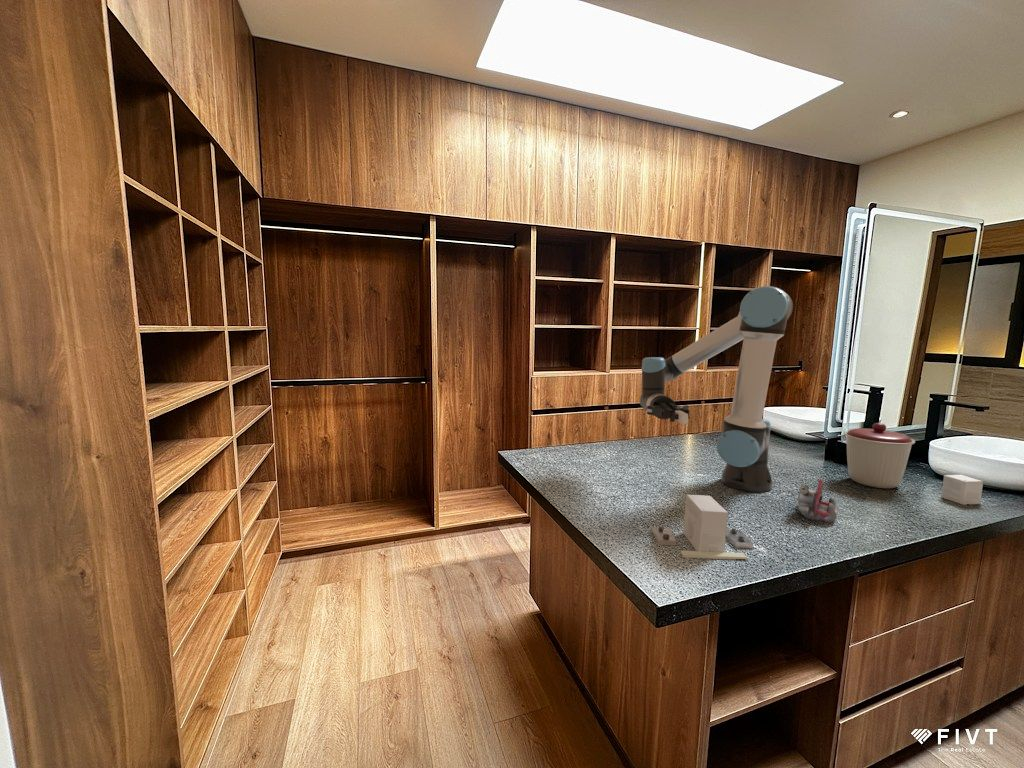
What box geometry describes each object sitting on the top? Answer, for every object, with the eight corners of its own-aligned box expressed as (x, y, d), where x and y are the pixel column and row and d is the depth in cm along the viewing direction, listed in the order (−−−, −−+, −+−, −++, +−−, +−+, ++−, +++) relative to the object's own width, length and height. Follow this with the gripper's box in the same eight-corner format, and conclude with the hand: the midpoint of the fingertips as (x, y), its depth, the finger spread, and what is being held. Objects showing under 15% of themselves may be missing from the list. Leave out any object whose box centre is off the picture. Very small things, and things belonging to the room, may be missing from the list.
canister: (905, 497, 131) (913, 431, 129) (834, 482, 145) (839, 422, 142) (912, 484, 143) (919, 423, 141) (846, 471, 157) (851, 415, 154)
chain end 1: (667, 531, 109) (667, 525, 108) (676, 545, 102) (676, 538, 101) (651, 531, 109) (652, 524, 109) (659, 544, 102) (659, 537, 102)
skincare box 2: (981, 504, 126) (984, 481, 125) (962, 505, 126) (965, 481, 125) (958, 496, 132) (961, 474, 131) (940, 497, 132) (943, 474, 131)
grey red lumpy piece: (847, 521, 109) (816, 480, 113) (805, 535, 115) (776, 496, 119) (849, 508, 118) (820, 470, 121) (809, 522, 124) (783, 485, 128)
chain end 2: (739, 534, 107) (739, 527, 107) (753, 548, 100) (753, 541, 100) (723, 533, 108) (723, 527, 107) (735, 547, 101) (736, 540, 100)
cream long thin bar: (742, 555, 97) (742, 552, 97) (746, 559, 95) (747, 557, 95) (680, 553, 98) (680, 550, 98) (683, 557, 96) (683, 555, 96)
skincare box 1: (726, 554, 98) (729, 511, 96) (697, 553, 98) (700, 510, 97) (708, 533, 108) (710, 494, 107) (682, 532, 108) (684, 493, 107)
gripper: (681, 417, 137) (709, 432, 114) (640, 417, 138) (660, 433, 115) (681, 394, 137) (710, 405, 113) (640, 395, 138) (660, 406, 114)
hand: (685, 419), depth 114 cm, fingers closed
